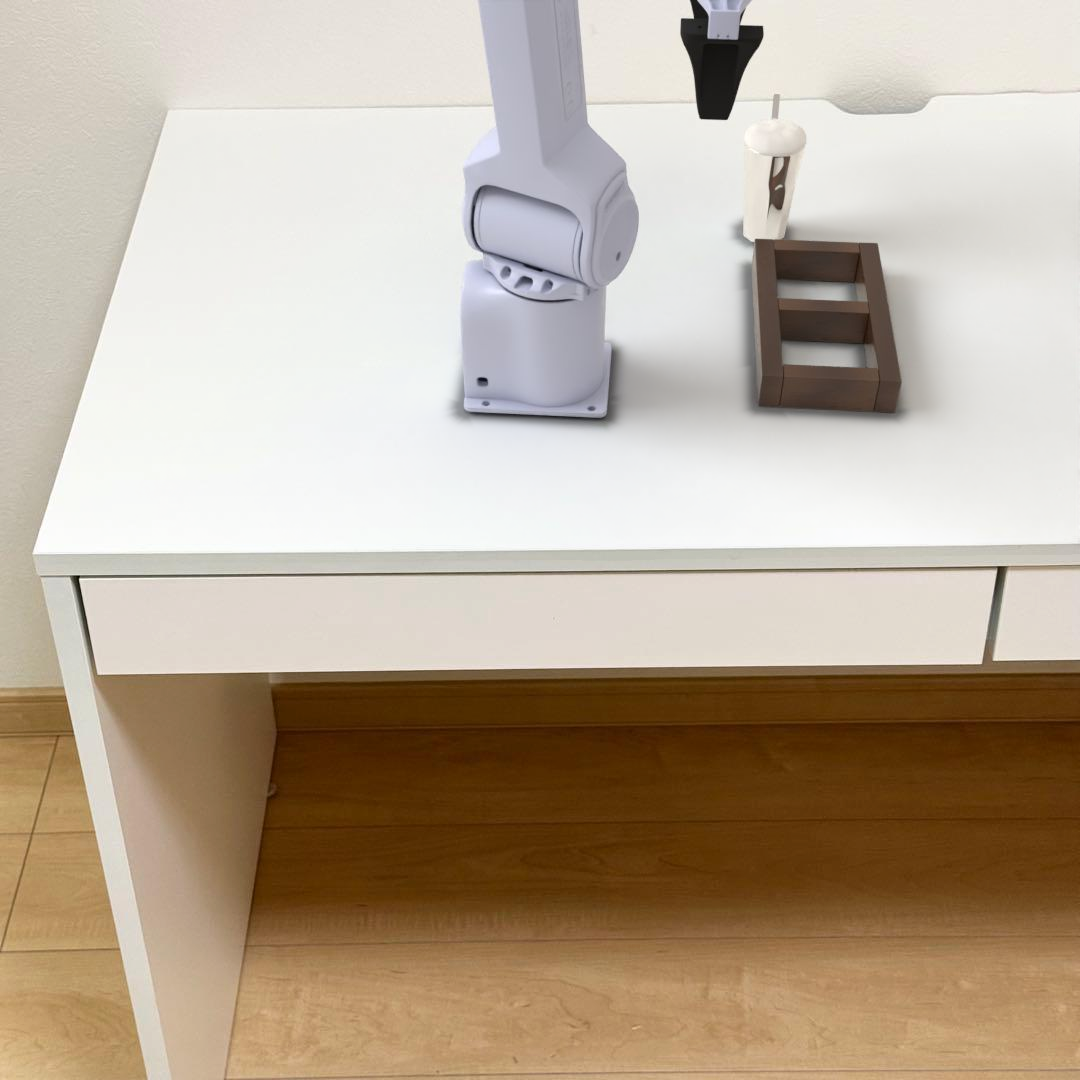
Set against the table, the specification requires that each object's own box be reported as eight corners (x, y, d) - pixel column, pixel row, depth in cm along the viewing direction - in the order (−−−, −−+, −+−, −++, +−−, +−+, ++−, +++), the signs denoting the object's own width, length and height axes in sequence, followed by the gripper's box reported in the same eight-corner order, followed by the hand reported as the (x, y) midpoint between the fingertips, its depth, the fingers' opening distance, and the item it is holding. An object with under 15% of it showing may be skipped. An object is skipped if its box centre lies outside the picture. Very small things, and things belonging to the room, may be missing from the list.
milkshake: (791, 214, 108) (808, 95, 101) (793, 251, 104) (811, 130, 97) (733, 211, 108) (746, 92, 101) (734, 248, 104) (747, 127, 97)
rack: (758, 406, 90) (762, 375, 89) (751, 268, 102) (754, 238, 100) (895, 413, 90) (902, 381, 88) (872, 272, 102) (877, 242, 100)
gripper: (795, -57, 85) (771, 142, 95) (786, -136, 95) (765, 50, 105) (682, -59, 86) (670, 139, 95) (685, -139, 96) (673, 47, 105)
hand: (713, 92), depth 100 cm, fingers open, 7 cm apart
